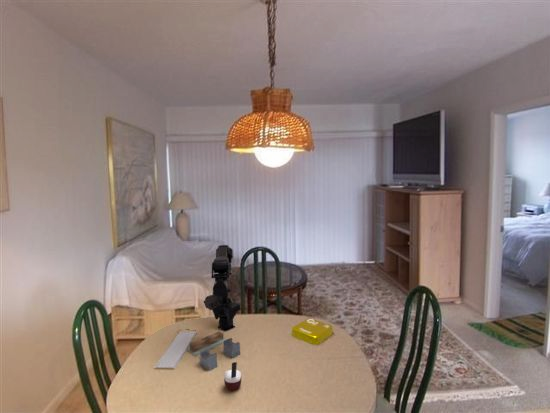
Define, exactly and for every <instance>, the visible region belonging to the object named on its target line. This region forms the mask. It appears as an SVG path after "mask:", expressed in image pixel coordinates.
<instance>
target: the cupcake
mask: <svg viewBox="0 0 550 413" xmlns="http://www.w3.org/2000/svg"><path fill="white" fill-rule="evenodd" d="M237 366H238V362H237V361H234V362H232V363H231V369H228V370H226V371H224V374H223V376H224V382H223V383H224V385H225V387H226V388H227V390H229V391H234V390H235V391H236V390H238V389H240V387H241V383H242V372H241V371H239V370H238V368H237Z"/></svg>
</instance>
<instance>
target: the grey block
mask: <svg viewBox="0 0 550 413" xmlns="http://www.w3.org/2000/svg"><path fill="white" fill-rule="evenodd" d="M223 354H224V355H226V356H227V355H228V356H227V357H229V356H230V357H229V358H231V359H232V358H233V359H235V358H238V357H239V356H240V355H241V342H240V341H237V342H234V341H233V338H232V337H229V338H227V339H226V340H225V341H224V343H223ZM238 355H239V356H238Z"/></svg>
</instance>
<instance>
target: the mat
mask: <svg viewBox="0 0 550 413" xmlns="http://www.w3.org/2000/svg"><path fill="white" fill-rule="evenodd" d="M225 340H227V339H226V338H224V337H223V340H221V341H218V342H216V343H214V344H212V345H209V346H207V347H205V348H203V349H201V350H198V351H196V352H194V353H193V352H192V351H190V347H188V348H187V350H186V351H187V352H188V353H190V354H191V353H192V355H194V356H195V357H197V356H200V352H201V351H204V350H206V349H209V350H210V351H211V350H212V349H214V348H216V347H218V346H220V344H221V345H222V343H223V344H224V341H225Z"/></svg>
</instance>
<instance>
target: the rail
mask: <svg viewBox="0 0 550 413" xmlns="http://www.w3.org/2000/svg"><path fill="white" fill-rule="evenodd" d="M223 338H224V332H222V331H220V330H218V331H215V332H214V333H211V334H209V335H207V336H204V337H202V338H200V339H197V340H195V341H193V342H192V341H191V343H190V345H189V348H190V351H192V352H193V353H194V352H196V351H198V350H201V349H203V348H205V347H207V346H209V345H212V344H214V343H216V342H218V341H221V340H223Z"/></svg>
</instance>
